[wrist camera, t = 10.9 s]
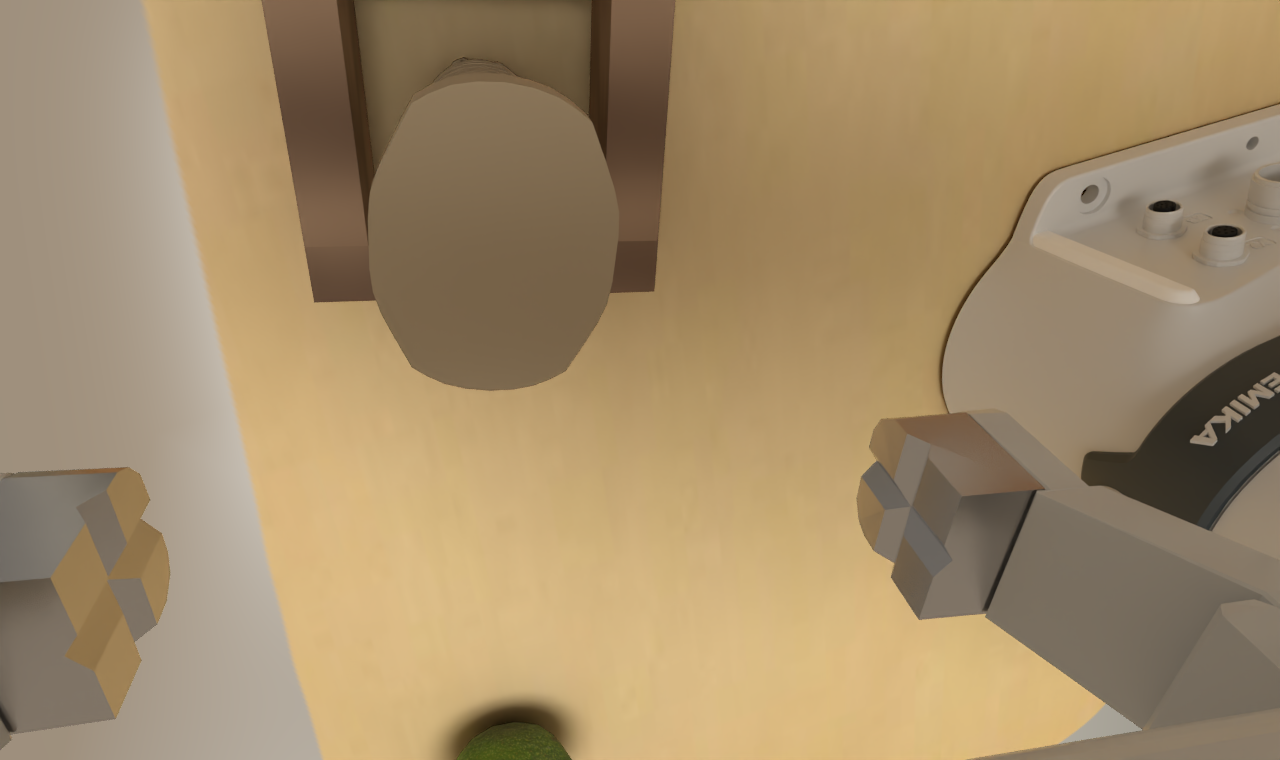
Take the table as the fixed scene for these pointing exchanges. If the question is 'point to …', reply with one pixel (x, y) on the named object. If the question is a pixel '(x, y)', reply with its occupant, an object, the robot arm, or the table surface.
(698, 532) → the table surface
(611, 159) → the socket board
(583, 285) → the handle
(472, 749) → the fruit
